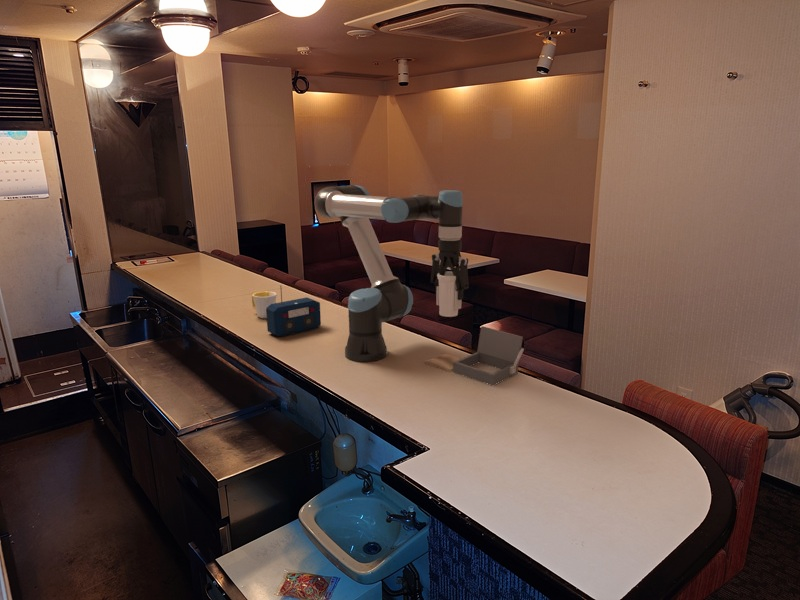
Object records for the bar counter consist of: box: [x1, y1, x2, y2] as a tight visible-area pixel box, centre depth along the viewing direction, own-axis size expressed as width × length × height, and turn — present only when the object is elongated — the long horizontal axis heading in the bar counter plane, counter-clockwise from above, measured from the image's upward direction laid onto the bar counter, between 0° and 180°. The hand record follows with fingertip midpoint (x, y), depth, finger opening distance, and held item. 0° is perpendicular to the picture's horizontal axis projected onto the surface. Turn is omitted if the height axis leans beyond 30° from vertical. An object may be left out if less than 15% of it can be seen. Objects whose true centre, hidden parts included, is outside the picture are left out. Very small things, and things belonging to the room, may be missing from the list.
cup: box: [437, 270, 459, 318], centre depth 182 cm, size 8×8×14 cm
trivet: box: [424, 353, 463, 372], centre depth 188 cm, size 11×11×1 cm
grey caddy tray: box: [452, 325, 525, 386], centre depth 178 cm, size 16×17×12 cm
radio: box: [266, 284, 322, 338], centre depth 220 cm, size 21×9×20 cm, turn 129°
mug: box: [251, 291, 277, 319], centre depth 243 cm, size 14×10×10 cm
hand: (448, 306), depth 183 cm, fingers closed on cup, 7 cm apart
